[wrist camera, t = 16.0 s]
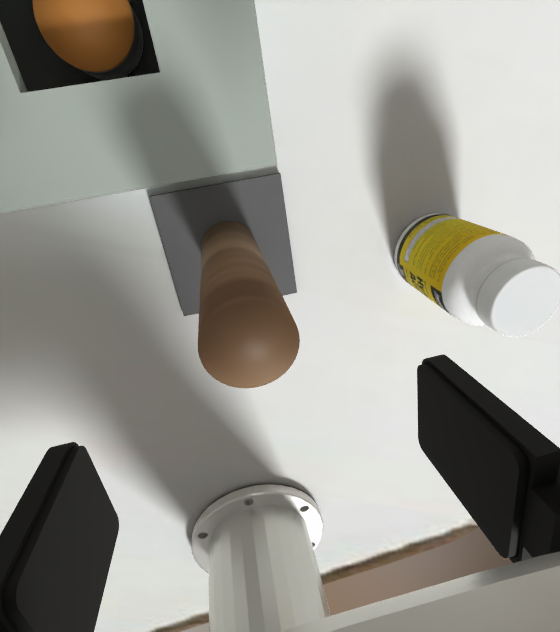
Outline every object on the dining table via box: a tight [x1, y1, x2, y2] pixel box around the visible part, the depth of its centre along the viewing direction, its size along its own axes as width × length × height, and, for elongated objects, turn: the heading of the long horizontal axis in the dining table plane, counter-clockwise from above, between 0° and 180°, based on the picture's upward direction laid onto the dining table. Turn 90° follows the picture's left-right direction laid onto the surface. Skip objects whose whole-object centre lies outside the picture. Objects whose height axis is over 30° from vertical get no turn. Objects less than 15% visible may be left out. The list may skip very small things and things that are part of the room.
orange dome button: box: [33, 0, 143, 80], centre depth 18 cm, size 4×4×3 cm
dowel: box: [198, 221, 300, 388], centre depth 19 cm, size 4×4×13 cm
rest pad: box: [149, 173, 297, 316], centre depth 25 cm, size 8×8×1 cm
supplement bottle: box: [394, 213, 560, 337], centre depth 23 cm, size 5×5×10 cm
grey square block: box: [0, 0, 277, 214], centre depth 17 cm, size 14×14×6 cm
